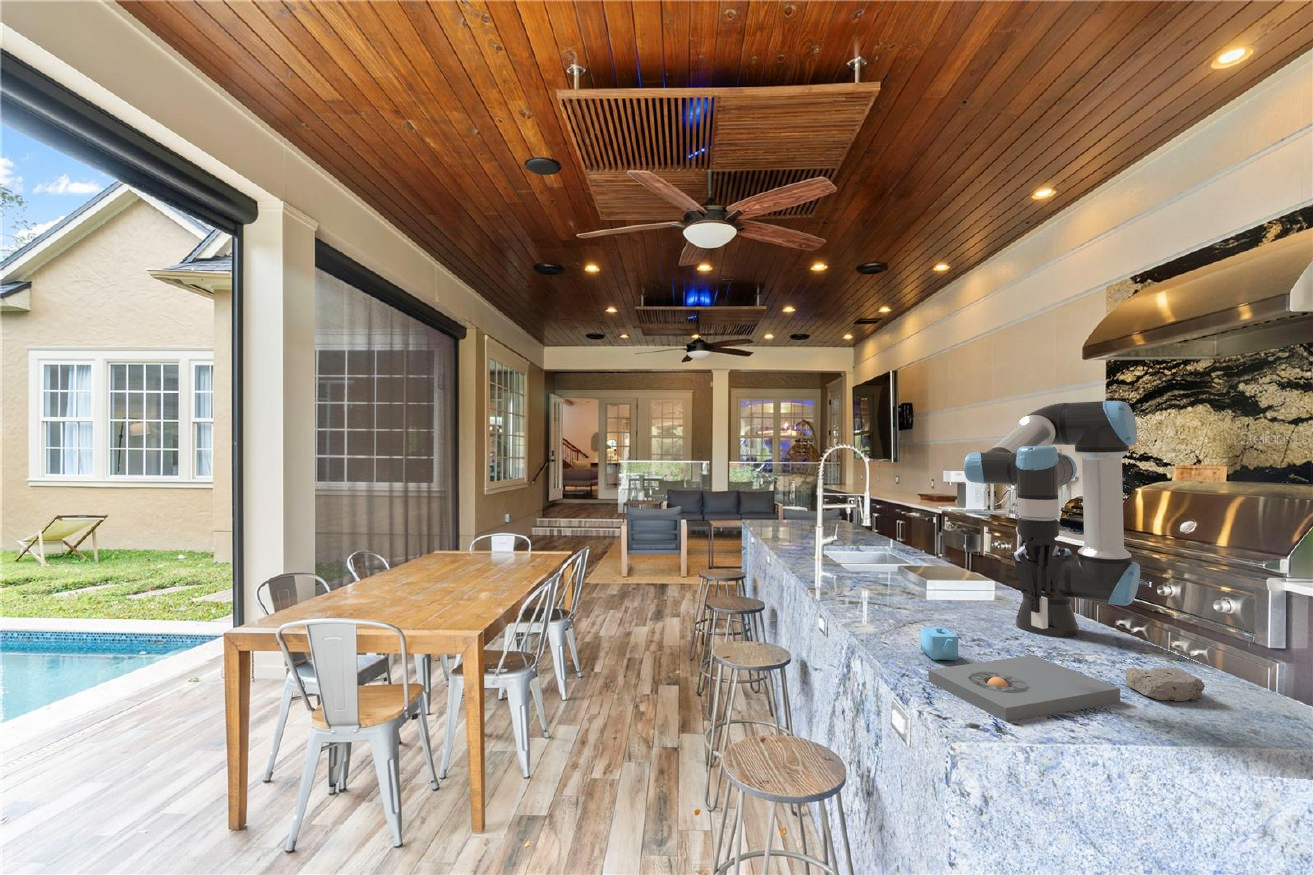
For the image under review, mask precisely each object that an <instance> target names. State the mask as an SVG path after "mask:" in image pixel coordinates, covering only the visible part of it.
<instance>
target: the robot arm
mask: <svg viewBox="0 0 1313 875" xmlns="http://www.w3.org/2000/svg"><path fill="white" fill-rule="evenodd" d="M1137 429H1138V427H1137V422H1136V418H1135V415H1134V412H1133V410H1132V408H1131V406H1130V405H1129V403H1127V402H1125V401H1121V400H1100V401H1079V402H1060V403H1059V402H1058V403H1053V404H1050V405H1046V406H1044V407H1042V408H1039V409H1037V410H1033V411H1032V412H1030V413H1028V414H1027V415H1025V416H1023V417H1022V418H1021V419H1020V420H1019V421H1018V422H1017V424H1016V427H1015V429H1013V430H1012V431H1011V432H1010V433H1008V434H1007V435H1006V436H1005V437H1003V438H1001V439H1000V441H998V442H997V443H996V444H994V445H993V446H992V447H991V448H989V449H988V450H987V451H986V452H985V451H984V452H981V451H978V452H969V453H968V454H966V457H965V459H964V463H963V472H964V476H965V478H966V480H967V481H968V482H971V483H977V484H982V485H985V484H986V485H987V484H990V485H1012V486H1013V485H1016V490H1017V491H1016V492H1017V493H1016V496H1017V515H1018V516H1019V517H1018V519H1017V534H1018V535H1019V536H1020V537H1021V540H1020V544H1019V548H1018V549H1017V550H1012V551H1011V552H1010V556H1011V557H1012V559H1013V561H1014V564H1015V569H1016V574H1017V578H1018V579H1017V580H1018V583H1019V588H1020V592H1021V594H1022V602H1021V603H1020V606H1019V609H1018V612H1017V615H1016V617H1015V626H1016V627H1017V628H1018V629H1020V630H1022V631H1025V632H1028V633H1030V634H1031V633H1032V634H1034V635H1040V636H1045V637H1051V638H1074V637H1078V636H1079V634H1080V632H1079V631H1080V629H1079V628H1080V626H1079V624H1078V622H1077V619H1076V617H1075V613H1074V611H1073V607H1072V599H1073V598H1074V599H1080V600H1086V601H1090V602H1098V603H1103V604H1107V605H1117V606H1129V605H1130V604H1132V603H1133V601H1134V600H1135V598H1136V595H1137V593H1138V589H1139V585H1140V578H1141V566H1140V564H1139V562H1136V561H1132V558H1133V557H1132V554H1131V552H1129V551H1128V550H1127V549H1126V548H1125V539H1124V538H1125V537H1124V535H1125V533H1124V498H1123V496H1124V495H1123V494H1124V492H1123V460H1122V459H1123V457H1125V456H1126V455H1127V454H1128V453H1129V452H1130V447H1132V446H1134V445H1136V443H1137V440H1138V436H1137V435H1138V430H1137ZM1052 445H1053V446H1052ZM1054 445H1057V446H1058V445H1060V446H1061V445H1062V446H1063V445H1066V446H1074V453H1076V455H1078V456H1079V457H1080V458H1081V469H1082V470H1081V472H1082V476H1081V477H1082V504H1083V505H1082V506H1083V507H1082V508H1083V510H1082V511H1083V512H1082V515H1083V542H1084V543H1083V546H1082V547H1080V548H1079V549H1078V550H1077V555H1075V554H1074V555H1073V554H1072V551H1071V550H1070V549H1069V548H1063V547H1059V546H1058V545H1057V541H1056V538H1058V537H1059V535H1060V521H1059V520H1058V519H1057V518H1059V517H1060V510H1059V509H1060V507H1059V506H1060V503H1059V501H1060V500H1059V487H1063V486H1065V485H1067V484H1069V483H1070V482H1072V480H1073V479H1074V478H1075V477H1076V474H1077V470H1078V468H1077V465H1076V462H1075V461H1074V459H1073V458H1072V457H1070V456H1069V455H1067V454H1065V453H1063V452H1062V453H1061V452H1059V451H1058V450H1057V448H1056V447H1055V446H1054Z"/></svg>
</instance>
